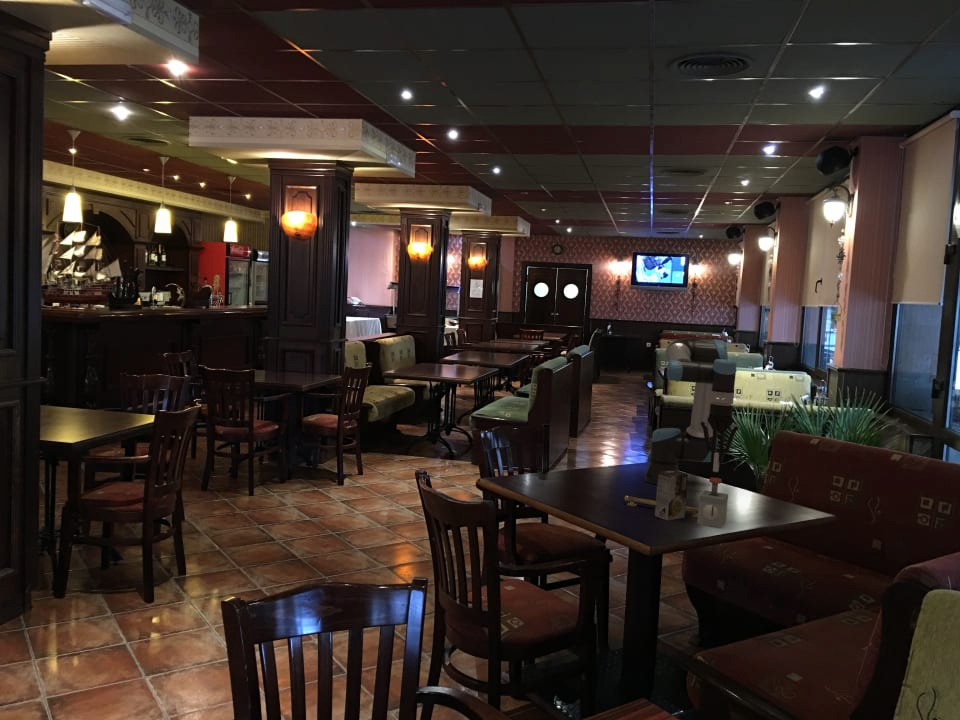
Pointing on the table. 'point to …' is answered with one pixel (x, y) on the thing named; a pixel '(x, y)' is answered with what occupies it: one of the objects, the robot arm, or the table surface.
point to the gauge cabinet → (712, 509)
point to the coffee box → (671, 495)
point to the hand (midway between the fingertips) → (715, 471)
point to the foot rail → (651, 502)
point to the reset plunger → (714, 484)
